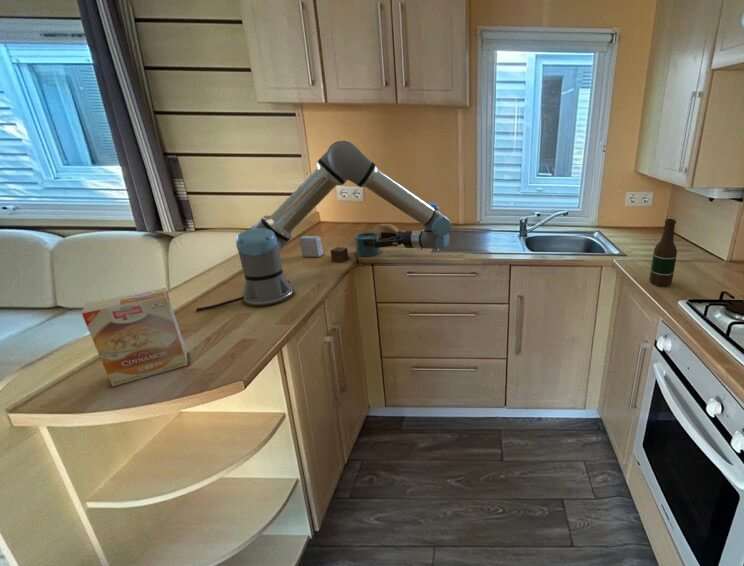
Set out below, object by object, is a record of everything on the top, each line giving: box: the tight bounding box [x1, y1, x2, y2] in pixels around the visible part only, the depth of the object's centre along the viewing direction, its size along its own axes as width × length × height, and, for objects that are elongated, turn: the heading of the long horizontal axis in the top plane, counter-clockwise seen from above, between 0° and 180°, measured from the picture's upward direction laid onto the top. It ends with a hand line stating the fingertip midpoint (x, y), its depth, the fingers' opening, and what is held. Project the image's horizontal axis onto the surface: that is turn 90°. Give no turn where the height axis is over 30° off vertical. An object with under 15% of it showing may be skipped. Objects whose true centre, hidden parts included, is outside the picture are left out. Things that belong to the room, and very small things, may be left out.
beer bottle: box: [649, 218, 678, 288], centre depth 146 cm, size 8×8×24 cm
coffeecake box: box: [81, 287, 188, 387], centre depth 98 cm, size 15×7×20 cm, turn 126°
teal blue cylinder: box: [353, 232, 382, 257], centre depth 186 cm, size 11×11×8 cm
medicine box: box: [298, 235, 324, 258], centre depth 182 cm, size 8×4×9 cm, turn 84°
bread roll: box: [373, 223, 400, 240], centre depth 206 cm, size 10×15×8 cm, turn 72°
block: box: [330, 246, 349, 263], centre depth 177 cm, size 5×5×5 cm
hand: (372, 238), depth 181 cm, fingers open, 13 cm apart
